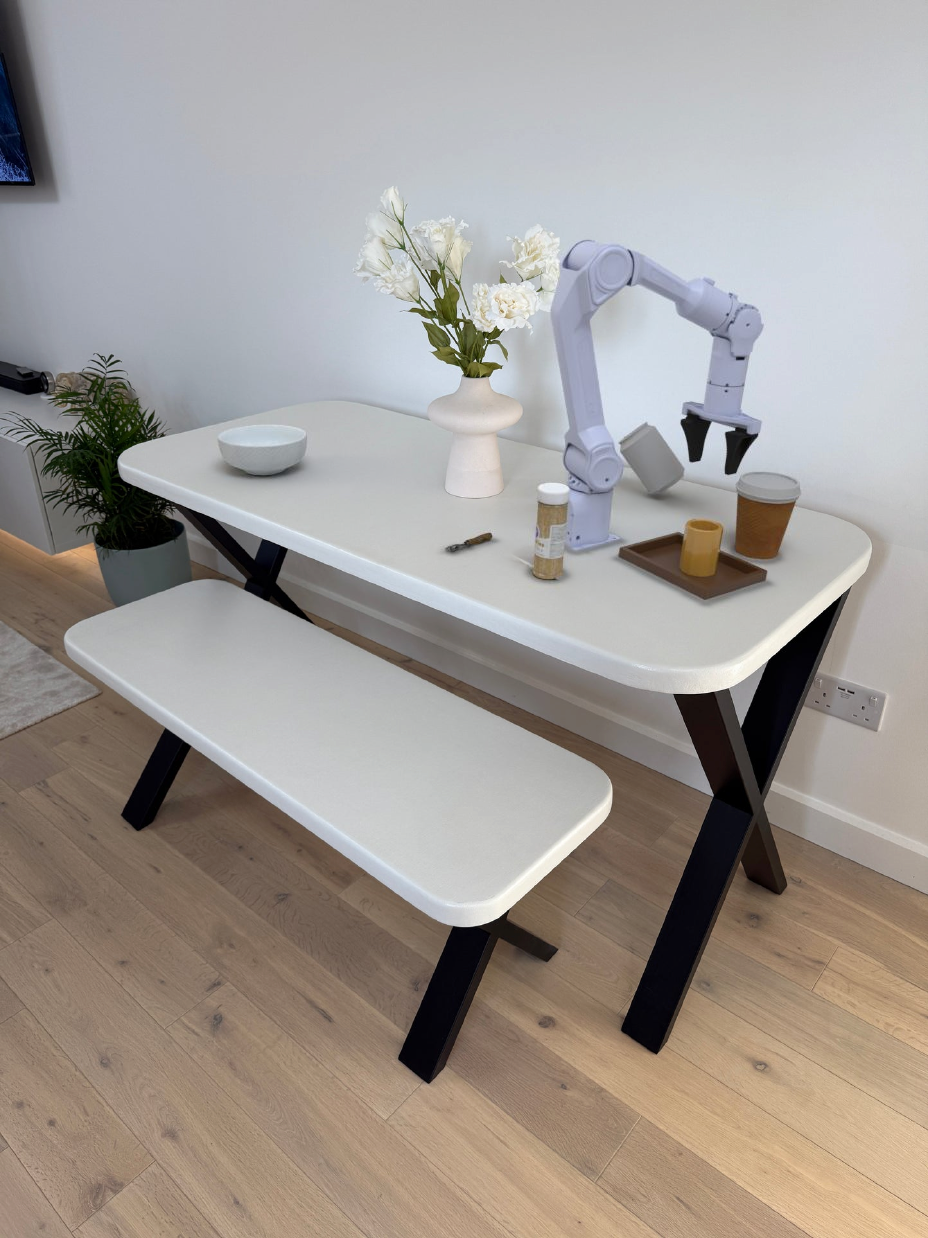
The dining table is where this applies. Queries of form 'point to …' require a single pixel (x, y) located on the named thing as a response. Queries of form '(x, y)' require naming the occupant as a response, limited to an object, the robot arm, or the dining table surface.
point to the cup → (701, 547)
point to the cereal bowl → (263, 448)
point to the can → (651, 459)
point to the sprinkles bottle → (550, 530)
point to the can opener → (472, 541)
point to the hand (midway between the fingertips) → (712, 467)
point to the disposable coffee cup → (763, 512)
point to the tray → (665, 561)
